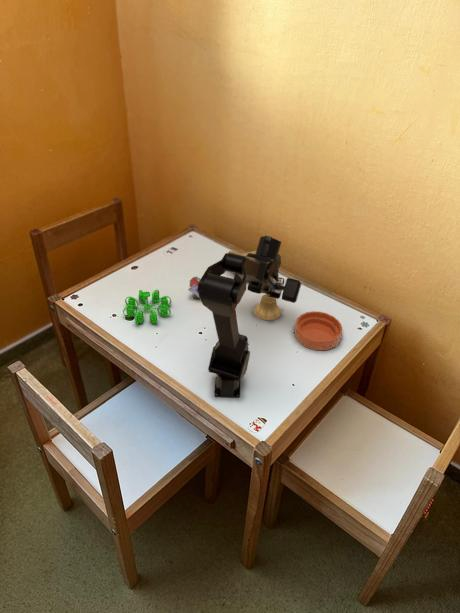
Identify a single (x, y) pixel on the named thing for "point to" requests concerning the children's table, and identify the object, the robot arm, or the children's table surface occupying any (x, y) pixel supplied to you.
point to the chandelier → (147, 306)
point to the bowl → (318, 330)
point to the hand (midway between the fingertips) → (270, 289)
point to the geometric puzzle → (194, 286)
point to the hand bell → (267, 308)
